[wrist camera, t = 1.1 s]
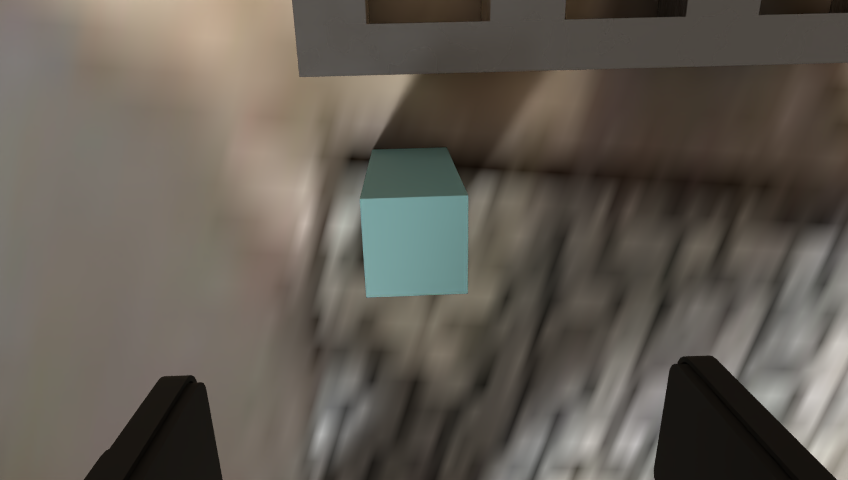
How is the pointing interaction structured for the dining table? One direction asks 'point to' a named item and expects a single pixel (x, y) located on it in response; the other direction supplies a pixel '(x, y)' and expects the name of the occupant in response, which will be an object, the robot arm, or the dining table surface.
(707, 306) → the dining table surface
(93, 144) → the dining table surface
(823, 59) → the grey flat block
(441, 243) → the square block
